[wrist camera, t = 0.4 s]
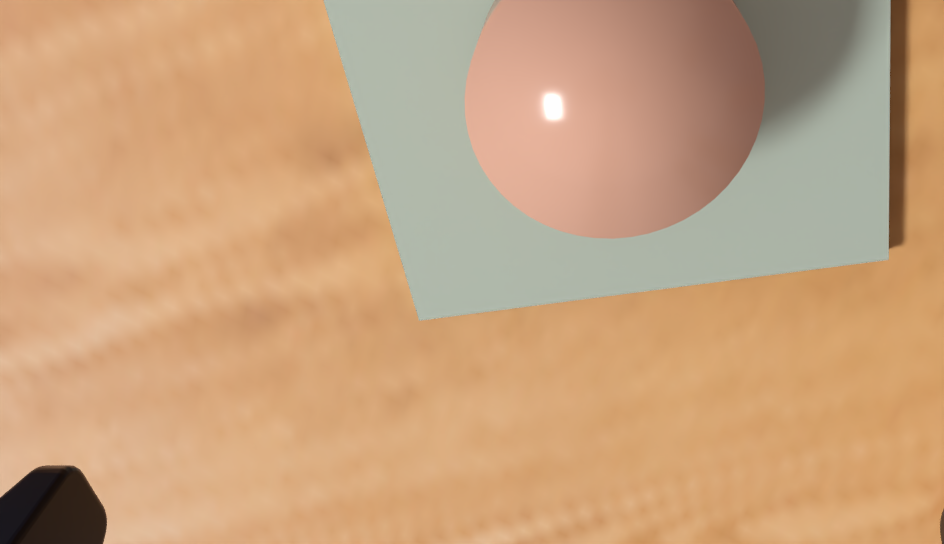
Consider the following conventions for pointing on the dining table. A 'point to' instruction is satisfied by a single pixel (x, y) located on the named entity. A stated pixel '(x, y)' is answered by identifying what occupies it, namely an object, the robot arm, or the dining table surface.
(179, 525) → the dining table surface
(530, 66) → the pink dome
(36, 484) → the robot arm
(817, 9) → the mat
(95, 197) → the dining table surface
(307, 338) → the dining table surface
